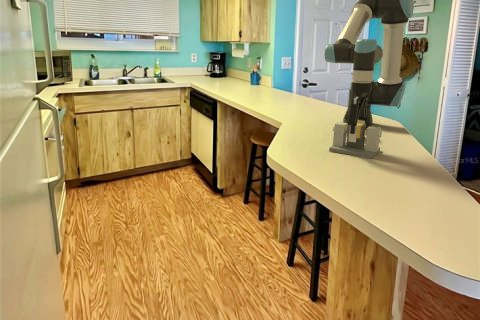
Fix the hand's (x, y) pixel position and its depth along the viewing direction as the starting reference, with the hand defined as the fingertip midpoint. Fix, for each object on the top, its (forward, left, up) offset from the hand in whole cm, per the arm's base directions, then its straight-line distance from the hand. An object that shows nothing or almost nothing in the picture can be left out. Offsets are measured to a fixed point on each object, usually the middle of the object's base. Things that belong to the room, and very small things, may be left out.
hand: (355, 138), depth 146 cm
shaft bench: (0, 0, -5) cm, 5 cm away
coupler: (0, 0, +1) cm, 1 cm away
